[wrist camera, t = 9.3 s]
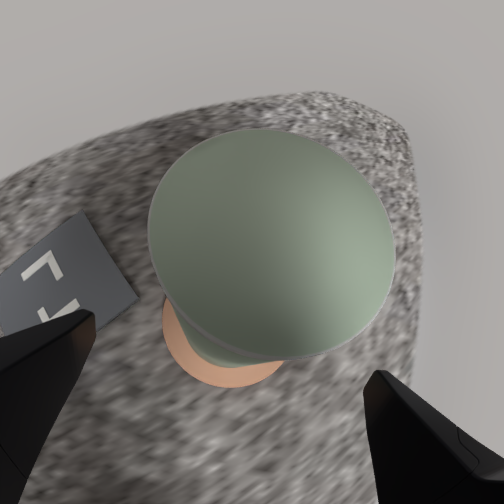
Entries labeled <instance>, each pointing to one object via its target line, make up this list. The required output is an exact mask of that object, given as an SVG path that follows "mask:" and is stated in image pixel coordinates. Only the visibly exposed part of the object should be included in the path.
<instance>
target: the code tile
mask: <svg viewBox="0 0 504 504" xmlns="http://www.w3.org/2000/svg"><path fill="white" fill-rule="evenodd" d="M138 300H139V298H138V296H137V295H136V293H135V292H134V291H133V289H132V288H131V286H130V285H129V283H128V282H127V280H126V279H125V278H124V276H123V275H122V273H121V272H120V270H119V269H118V267H117V265H116V264H115V262H114V261H113V259H112V258H111V256H110V255H109V253H108V251H107V250H106V248H105V247H104V245H103V243H102V242H101V240H100V239H99V237H98V235H97V234H96V232H95V230H94V229H93V227H92V225H91V223H90V222H89V220H88V218H87V217H86V215H85V213H84V211H83V210H81V211H80V212H78V213H77V214H75V215H74V216H73V217H71V218H70V219H68V220H67V221H66V222H64V223H63V224H62V225H60V226H59V227H58V228H56V229H55V230H54V231H52V232H51V233H50V234H48V235H47V236H46V237H45V238H43V239H42V240H41V241H40V242H38V243H37V244H36V245H35V246H33V247H32V248H31V249H30V250H29V251H27V252H26V253H25V254H24V255H23V256H21V257H20V258H19V259H18V260H17V261H16V262H14V263H13V264H12V265H11V266H10V267H9V268H8V269H6V270H5V271H4V272H3V273H2V274H1V275H0V325H1V327H2V330H3V332H4V335H5V336H7V335H10V334H12V333H15V332H18V331H21V330H24V329H26V328H29V327H32V326H35V325H38V324H40V323H43V322H46V321H49V320H52V319H54V318H57V317H60V316H63V315H66V314H68V313H71V312H74V311H77V310H80V309H86V310H89V311H92V312H93V313H94V314H95V322H96V332H97V331H99V330H100V329H101V328H102V327H104V326H105V325H106V324H108V323H109V322H110V321H112V320H113V319H114V318H115V317H117V316H118V315H119V314H121V313H122V312H123V311H125V310H126V309H127V308H129V307H130V306H131V305H133V304H134V303H135V302H137V301H138Z"/></svg>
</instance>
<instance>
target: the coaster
mask: <svg viewBox="0 0 504 504" xmlns="http://www.w3.org/2000/svg"><path fill="white" fill-rule="evenodd" d="M162 327H163V334H164V338H165V341H166V344H167V347H168V349H169V350H170V352H171V354H172V356H173V357H174V359H175V360H176V361H177V363H178V364H179V365H180V366H181V367H182V368H183V369H184V370H185V371H186V372H188V373H189V374H190V375H191V376H193V377H195V378H196V379H198V380H200V381H202V382H205V383H207V384H210V385H214V386H218V387H225V388H236V387H244V386H248V385H251V384H254V383H257V382H259V381H261V380H263V379H265V378H266V377H268V376H270V375H271V374H272V373H273V372H275V371H276V370H277V369H278V368H279V367H280V366H281V365H282V363H283V362H284V361H273V362H268V363H262V364H256V365H250V366H244V367H237V368H224V367H219V366H215V365H213V364H210V363H208V362H207V361H205V360H203V359H202V358H201V357H199V356H198V355H197V354H196V353H195V352H194V350H193V349H192V348H191V346H190V344H189V343H188V341H187V339H186V336H185V334H184V332H183V330H182V328H181V325H180V323H179V321H178V319H177V317H176V314H175V312H174V310H173V307H172V305H171V303H170V301H169V300H168V298H167V297H166V300H165V303H164V308H163V313H162Z"/></svg>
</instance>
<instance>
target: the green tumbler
mask: <svg viewBox="0 0 504 504" xmlns="http://www.w3.org/2000/svg"><path fill="white" fill-rule="evenodd" d="M147 240H148V247H149V253H150V258H151V261H152V264H153V267H154V270H155V273H156V276H157V278H158V281H159V283H160V285H161V287H162V289H163V291H164V293H165V294H166V296H167V298H168V300H169V301H170V303H171V305H172V307H173V310H174V312H175V314H176V317H177V319H178V321H179V323H180V325H181V328H182V330H183V332H184V334H185V336H186V339H187V341H188V343H189V344H190V346H191V348H192V349H193V350H194V352H195V353H196V354H197V355H198V356H199V357H201V358H202V359H203V360H205V361H207V362H208V363H210V364H213V365H215V366H219V367H224V368H237V367H244V366H250V365H256V364H262V363H268V362H273V361H284V360H297V359H302V358H307V357H312V356H316V355H320V354H324V353H326V352H329V351H331V350H334V349H336V348H339V347H340V346H342V345H344V344H345V343H347V342H349V341H351V340H352V339H354V338H355V337H356V336H357V335H359V334H360V333H361V332H362V331H363V330H365V329H366V328H367V326H368V325H369V324H370V323H371V322H372V321H373V320H374V319H375V317H376V316H377V314H378V313H379V311H380V310H381V308H382V307H383V305H384V303H385V301H386V299H387V296H388V294H389V292H390V289H391V285H392V282H393V278H394V272H395V264H396V249H395V241H394V234H393V230H392V226H391V223H390V220H389V217H388V215H387V212H386V209H385V207H384V205H383V204H382V202H381V200H380V198H379V196H378V195H377V193H376V192H375V190H374V189H373V187H372V186H371V184H370V183H369V182H368V181H367V179H366V178H365V177H364V176H363V175H362V174H361V173H360V172H359V171H358V170H357V169H356V168H355V167H354V166H353V165H352V164H351V163H350V162H349V161H347V160H346V159H345V158H344V157H342V156H341V155H340V154H338V153H337V152H335V151H334V150H332V149H330V148H329V147H327V146H325V145H323V144H321V143H319V142H317V141H315V140H312V139H310V138H308V137H305V136H302V135H299V134H295V133H292V132H287V131H282V130H276V129H266V128H251V129H240V130H235V131H230V132H225V133H222V134H219V135H216V136H213V137H211V138H209V139H206V140H204V141H202V142H200V143H198V144H197V145H195V146H194V147H192V148H191V149H189V150H188V151H186V152H185V153H184V154H183V155H182V156H180V157H179V158H178V159H177V160H176V161H175V162H174V163H173V164H172V166H171V167H170V168H169V169H168V170H167V172H166V173H165V175H164V176H163V178H162V179H161V181H160V182H159V185H158V187H157V189H156V191H155V193H154V195H153V199H152V202H151V205H150V209H149V215H148V223H147Z"/></svg>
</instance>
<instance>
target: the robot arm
mask: <svg viewBox="0 0 504 504" xmlns="http://www.w3.org/2000/svg"><path fill="white" fill-rule="evenodd" d="M95 338H96V322H95V314H94V313H93V312H92V311H89V310H86V309H80V310H77V311H74V312H71V313H68V314H66V315H63V316H60V317H57V318H54V319H52V320H49V321H46V322H43V323H40V324H38V325H35V326H32V327H29V328H26V329H24V330H21V331H18V332H15V333H12V334H10V335H7V336H4V337H1V338H0V504H18V503H19V500H20V497H21V495H22V492H23V490H24V488H25V485H26V483H27V479H28V478H29V475H30V473H31V471H32V468H33V466H34V464H35V462H36V460H37V457H38V455H39V453H40V451H41V449H42V447H43V445H44V443H45V441H46V439H47V436H48V434H49V432H50V430H51V428H52V426H53V424H54V423H55V421H56V419H57V417H58V415H59V413H60V411H61V409H62V407H63V405H64V403H65V402H66V400H67V398H68V396H69V394H70V392H71V391H72V389H73V387H74V385H75V384H76V382H77V380H78V378H79V376H80V373H81V371H82V369H83V366H84V364H85V362H86V359H87V357H88V355H89V353H90V350H91V348H92V346H93V344H94V341H95ZM363 398H364V408H365V419H366V429H367V436H368V441H369V446H370V452H371V458H372V463H373V469H374V475H375V482H376V488H377V495H378V502H379V504H504V458H502V457H501V456H499V455H498V454H496V453H495V452H493V451H492V450H490V449H488V448H487V447H485V446H484V445H482V444H481V443H479V442H478V441H476V440H475V439H474V438H472V437H471V436H469V435H468V434H467V433H466V432H464V431H463V430H462V429H460V428H459V427H456V425H455V424H454V423H453V422H451V421H450V420H449V419H448V418H446V417H445V416H444V415H442V414H441V413H440V412H439V411H437V410H436V409H435V408H433V407H432V406H431V405H430V404H428V403H427V402H426V401H424V400H423V399H422V398H421V397H420V396H418V395H417V394H416V393H414V392H413V391H412V390H411V389H409V388H408V387H407V386H406V385H404V384H403V383H402V382H401V381H399V380H398V379H397V378H396V377H394V376H393V375H392V374H391V373H389V372H388V371H386V370H376V371H374V372H373V374H372V376H371V377H370V379H369V381H368V382H367V384H366V385H365V387H364V390H363Z"/></svg>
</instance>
